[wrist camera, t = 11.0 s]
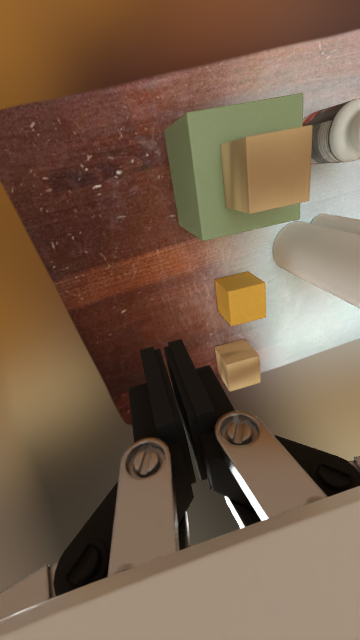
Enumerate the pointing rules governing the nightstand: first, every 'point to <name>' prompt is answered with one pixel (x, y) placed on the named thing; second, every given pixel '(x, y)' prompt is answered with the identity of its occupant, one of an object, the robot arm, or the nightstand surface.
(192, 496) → the robot arm
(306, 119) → the pill bottle
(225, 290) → the mustard block
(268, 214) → the stand
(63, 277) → the nightstand surface
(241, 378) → the far maple block
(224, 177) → the near maple block
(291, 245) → the vase
